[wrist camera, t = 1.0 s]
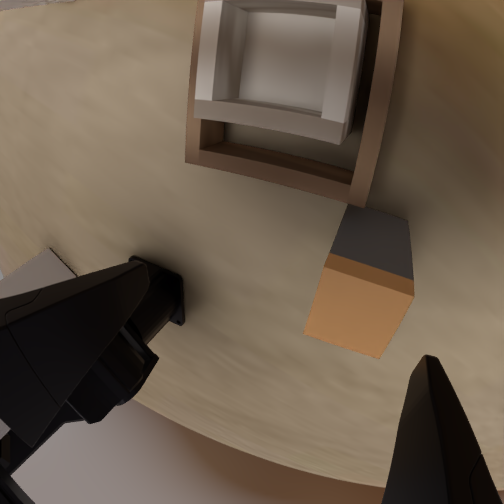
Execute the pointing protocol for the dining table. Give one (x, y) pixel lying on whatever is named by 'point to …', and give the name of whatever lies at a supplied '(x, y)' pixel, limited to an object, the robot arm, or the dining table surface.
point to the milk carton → (35, 275)
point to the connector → (364, 283)
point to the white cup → (27, 3)
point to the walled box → (290, 86)
